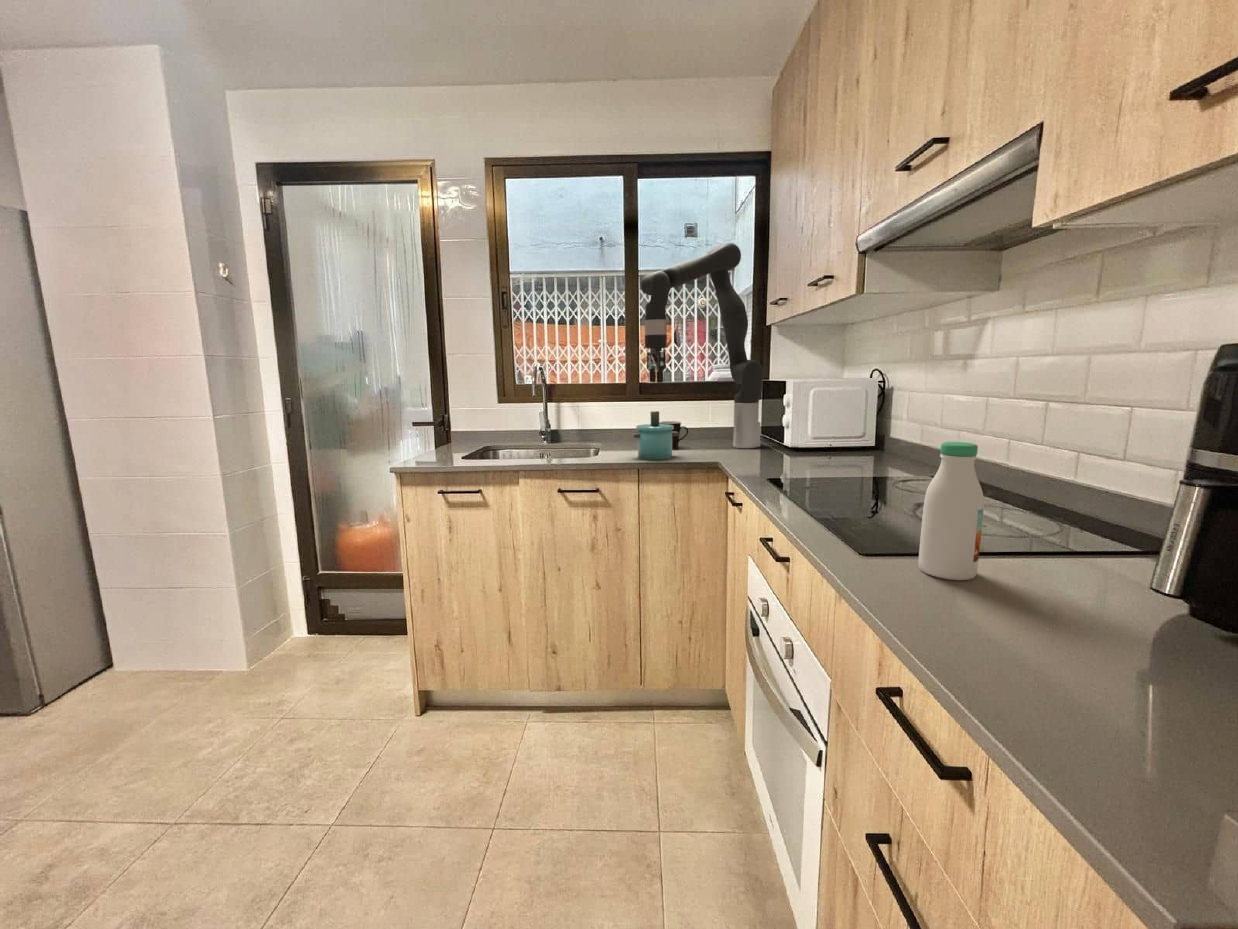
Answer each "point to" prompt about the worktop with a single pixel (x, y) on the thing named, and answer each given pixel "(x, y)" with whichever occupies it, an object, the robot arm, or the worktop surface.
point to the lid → (655, 424)
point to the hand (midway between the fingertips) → (656, 382)
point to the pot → (654, 444)
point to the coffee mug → (676, 428)
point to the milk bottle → (952, 516)
